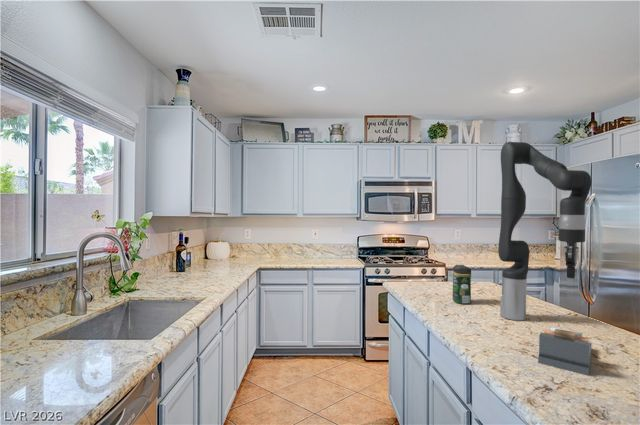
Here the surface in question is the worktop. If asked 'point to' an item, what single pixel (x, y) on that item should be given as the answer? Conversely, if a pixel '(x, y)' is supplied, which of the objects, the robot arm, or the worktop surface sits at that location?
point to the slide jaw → (577, 335)
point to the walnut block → (564, 333)
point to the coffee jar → (461, 284)
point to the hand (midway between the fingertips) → (570, 277)
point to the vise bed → (564, 353)
